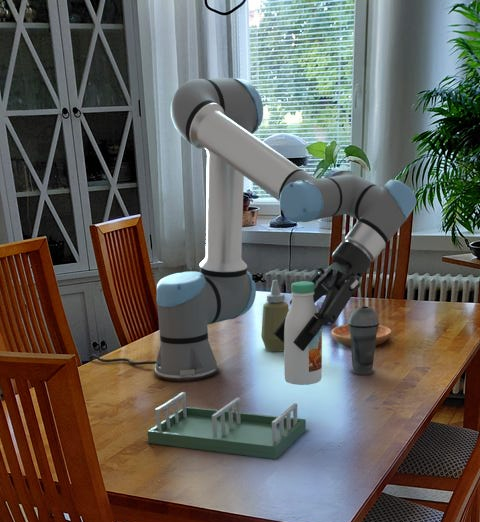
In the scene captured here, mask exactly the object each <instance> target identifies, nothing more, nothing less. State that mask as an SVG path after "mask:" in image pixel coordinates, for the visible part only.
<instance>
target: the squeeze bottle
mask: <svg viewBox="0 0 480 522" xmlns="http://www.w3.org/2000/svg"><path fill="white" fill-rule="evenodd" d="M289 309H290V308H289V303H288V302H286V301H285V293H282V292H281V290H280V285H279V281H278V279H273V280H272V283H271V289H270V293H267V294H266V302H265V303H264V304H263V306H262V318H261V320H262V321H261V331H260V336H261V339H262V343H263V345H264V348H265V350H266V351H269V352H284V342H282V341H281V340H280V339H279V338H278V337H277V336H276V335H275V334H274V332H275V331H276V330H277V328H278V327H279V326H280V324H281V323H282V322H283V321H284V319H285V318H286V316H287V314H288V311H289Z"/></svg>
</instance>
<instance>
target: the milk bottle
mask: <svg viewBox="0 0 480 522" xmlns="http://www.w3.org/2000/svg"><path fill="white" fill-rule="evenodd" d="M308 281H309V280H306V281H304V280H303V281H295V282H292V283H291V285H290V291H291V293H290V294H291V295H292V296H291V297H292V299H291V300H292V303H291V304H290V307H289V308H288V309H289V311H288V314H287V316H286V320H285V326H284V350H283V356H284V358H283V359H284V360H283V361H284V362H283V364H284V379H285V382H286V383H288V384H291V385H296V386H297V385H298V386H308V385H315V384H317V383H320V382H321V381H322V376H323V375H322V374H323V332H322V331H323V327H322V328H321V329H320V331H319V332H318V333H317V335H316V336H315V337H314V338H313V339H312V341H311V342H310V343H309V344H308V346H307V347H306V348H305V350H304V351H302V350H301V349H300V348H299V347H297V346H296V345H295V344H294V343H293V342H294V340H295V339H296V338H297V337H298V335H299V334H300V333H301V331H302V330H303V329H304V327H305V326H306V325H307V323H308V322H309V321H310V320H311V318H312V317H313V316H314V317H316V316H315V315H314V314H316V313H318V311H317V309H316V306H317V305H316V304H315V303H314V300H313V295H314V283H313V282H308ZM315 305H316V306H315ZM316 318H317V317H316Z"/></svg>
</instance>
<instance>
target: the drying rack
mask: <svg viewBox="0 0 480 522" xmlns="http://www.w3.org/2000/svg"><path fill="white" fill-rule="evenodd" d="M186 394H187V393H186V392H184V391H183V392H180V393H178V394H177V395H176V396H174V397H172V398H171V399H169V400H168V401H166V402H164V403H163V404H161V405H159V406H158V407H156V408H155V410H154V412H155V418H156V425H154V426H153V427H151V428H150V429H149V430H147V440H148V444H153V445H154V444H155V445H161V446H162V445H163V446H169V447H177V448H185V449H192V450H200V451H206V452H207V451H208V452H209V451H210V452H215V453H216V452H217V453H223V454H232V455H240V456H247V457H254V458H255V457H256V458H262V459H271V460H276V459H278V457H279V456H281V455H282V454H283V453H284V452H285V451H286V450H287V449H288V448H289V447H290V446H292V444H294V442H296V441H297V440H298V439H299V438H300V437H301V436H302V435H303V434H305V432H306V430H307V428H306V426H307V425H306V423H307V422H306V418H299V417H298V403H297V402H295V403H293V404H292V405H290V406H289V407H288V408H287V409H286V410H284V411H283V412H282V413H281V414H279V415H269V414H260V413H249V412H242V411H241V397H235V398H234V399H233V400H231V401H230V402H228V403H227V404H226V405H224V406H223V407H222V408H220V409H213V408H204V407H196V406H195V407H193V406H187V398H186ZM180 400H181V407H182V408H181V409H179V407H178V401H180ZM172 405H173V414H171V415H170V406H172ZM234 406H235V411H234V410H233V407H234ZM162 411H164V415H165V419H164V420H162V421H161V412H162ZM291 413H292V417H291Z"/></svg>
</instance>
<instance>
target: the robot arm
mask: <svg viewBox="0 0 480 522" xmlns="http://www.w3.org/2000/svg"><path fill="white" fill-rule="evenodd" d="M170 118H171V121H172V123H173V126H174V128H175V129H176V130H175V131H177V132H178V134H179V136H181V137H182V138H183V139H184V140H186V142H188V143H190V144H191V145H192V146H193V147H195V148H196V149H200V150H202V149H203V150H204V149H205V150H206V156H207V157H206V225H205V226H206V227H205V228H206V230H205V233H206V236H205V239H206V240H205V243H206V244H205V257H204V259H203V260H202V261H201V262H200V263H199V271H195V270H194V271H191V270H190V271H182V272H176V273H173V274H169V275H167V276H164V277H163V278H161V279H160V280H159V281H158V282H157V284H156V297H155V301H156V309H157V317H158V329H159V330H158V331H159V349H158V352H157V357H156V360H146V361H133V360H131V359H129V358H125V357H119V358H112V359H111V358H110V359H109V358H108V359H107V358H106V359H105V358H101V357H99V356H98V355H96V354H91V355H90V356H89V357H88V358H87V360H92V359H93V358H94V359H96V360H97V361H99V362H102V363H114V362H128V363H129V364H130V365H134V366H141V365H142V366H143V365H154V371H155V372H154V373H155V376H156V377H157V378H159V379H161V380H165V381H169V382H190V381H199V380H203V379H207V378H210V377H212V376H214V375H215V374H217V373H218V362H217V360H216V357H215V354H214V351H213V349H212V347H211V344H210V342H209V341H210V340H209V331H208V330H209V329H208V328H209V327H208V326H209V325H212V324H217V323H220V322H224V321H228V320H233V319H237V318H238V317H240V316H243V315H245V314H246V313H248V312H249V311H250V309H251V308H252V307H253V305H254V303H255V300H256V294H257V287H256V282H255V280H253V276H252V274H251V273H250V272H249V271H248V264H247V263H246V262H245V261H244V260H243V259H242V249H243V247H242V245H243V216H244V215H243V214H244V186H245V185H244V184H245V183H244V181H245V180H244V179H245V178H246V179H248V180H249V181H250V182H252V183H253V184H255V185H256V186H257V187H259V188H260V189H261V190H263V191H265V192H266V193H267V194H268V195H270V196H271V197H273V198H274V199H275V200H277V201H278V202H279V208H280V211H282V214H283V216H284V217H285V218H286V219H287V220H288V221H290V222H292V223H309V222H313V221H317V220H322V219H327V218H331V217H332V218H333V217H337V216H343V215H347V216H349V217H352V218H354V219H356V220H357V221H356V222H355V224H354V225H353V227H351V229H350V231H349V232H347V234H346V235H345V236H344V240H343V241H341V242H340V244H339V245H338V246H337V247H336V248H335V250H334V251H333V253H332V255H331V257H332V260H333V262H332V264H331V265H329V266H328V267H326V268H323V267H322V266H318V267H317V268H316V270H315V272H314V273H313V275H312V276H311V277H310V278H309V279H308V280H307V281H308V282H313V283H314V295H313V300H314V304H315V303H317V302H318V301H320V299H321V298H323V296H324V295H325V297H324V298H323V301H322V302H323V304H322V306H321V308H320V310H319V312H318V313H316V314H314V315H315V316H316V317H317V318H316V317H314V316H313V317H312V318H311V320H310V321H309V322H308V323H307V325H306V326H305V327H304V329H303V330H302V331H301V333H300V334H299V335H298V337H297V338H296V339H295V340H294V342H293V343H294V344H295V345H296V346H297V347H299V348H300V349H301V350H302V351H304V350H305V348H306V347H307V346H308V344H309V343H310V342H311V341H312V339H313V338H314V337H315V336H316V335H317V333H318V332H319V331H320V329H321V328H322V329H323V327H324V326H326V325H328V324H330V325H334V324H335V323H336V321H337V320H338V318H339V317H340V315H341V314H342V312H343V310H344V309H345V308H346V306H347V304H348V303H349V301H350V299H352V297H353V295H354V294H355V293H356V292H357V290H358V288H359V287H360V288H361V286H362V284H361V282H360V281H359V280H358V279H361V278H362V277H363V276H364V275H365V274H366V272H367V271H368V270H369V268H370V267H371V265H372V262H374V261H375V260H376V259H377V258H378V257H379V256H380V254H381V253H382V251H383V250H384V249H385V247H386V246H387V245H388V243H389V242H390V240H391V239H392V238H393V237H394V235H395V234H396V233H397V231H398V230H399V229H400V228H401V227H402V225H404V223H405V222H407V220H408V218H409V216H410V215H411V213H412V212H413V210H414V209H415V207H416V206H417V197H416V195H415V193H414V191H413V190H412V189H411V188H410V187H409V186H408V185H407V184H405V182H402V181H401V180H398V179H390V180H388V181H387V182H386V183H385V184H383V186H380V185H377V184H375V183H373V182H371V181H369V180H368V179H365V178H363V177H362V176H360V175H358V174H356V173H355V172H354V171H351V170H349V169H345V168H343V167H337V166H336V167H333V168H331V170H330V171H327V172H326V173H325V174H324V176H323V177H320V178H316V177H314V176H312V175H311V174H310V173H308V172H306V171H305V170H303V169H302V168H301V167H299V166H297V165H296V164H295V163H293V161H290V160H289V159H288V158H287V157H285V156H284V155H282V154H281V153H280V152H278V151H277V150H275V149H274V148H272V147H271V146H269V145H268V144H267V143H265V142H264V141H262V140H261V139H259V138H258V137H257V136H255V135H254V134H255V132H257V131H258V130H259V127H261V125H262V124H263V123H262V122H263V118H264V106H263V100H262V97H261V95H260V93H259V92H258V90H257V89H256V87H255V86H254V85H253V84H252V83H251V82H250V81H248V80H246V79H243V78H237V77H236V78H235V77H220V78H219V77H218V78H194V79H190V80H188V81H186V82H184V83H183V84H181V85H180V86H179V87H178V88H177V90H176V91H175V92H174V95H173V97H172V99H171V103H170ZM291 303H292V299H291V300H290V301H289V305H291ZM332 315H333V316H332ZM285 320H286V318H285V319H284V321H283V322H282V323H281V324H280V326H279V327H278V328H277V330H276V331H275V332H274V334H275V335H276V336H277V337H278V338H279V339H280V340H281V341H282V342H284V326H285ZM100 358H101V359H100Z"/></svg>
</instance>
